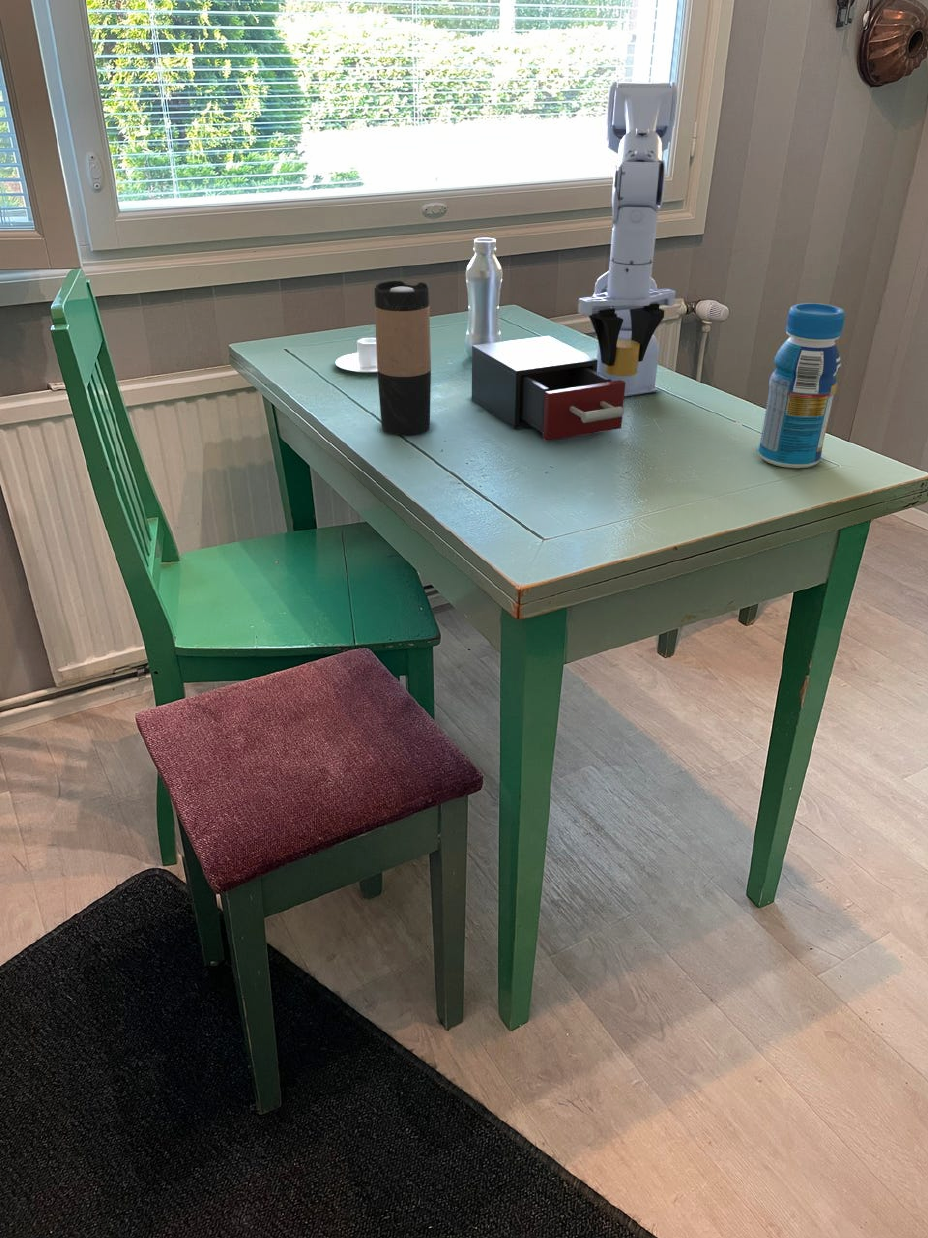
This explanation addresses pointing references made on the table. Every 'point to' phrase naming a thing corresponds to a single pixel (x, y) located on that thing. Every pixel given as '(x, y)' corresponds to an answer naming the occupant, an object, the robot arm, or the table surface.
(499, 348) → the charcoal grey case
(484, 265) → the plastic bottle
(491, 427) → the table surface
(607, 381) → the drawer
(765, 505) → the table surface
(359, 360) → the candle holder
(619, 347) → the yellow cylinder
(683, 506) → the table surface
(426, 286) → the travel mug
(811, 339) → the beverage bottle
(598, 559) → the table surface
